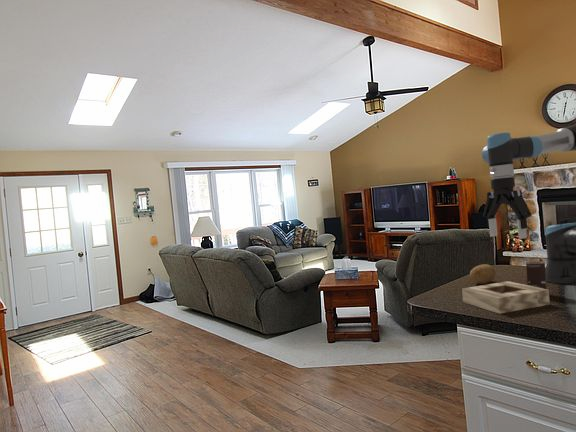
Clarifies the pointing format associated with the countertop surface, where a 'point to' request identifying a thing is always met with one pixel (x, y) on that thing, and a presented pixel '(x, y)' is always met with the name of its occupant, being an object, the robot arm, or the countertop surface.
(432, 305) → the countertop surface
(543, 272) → the box
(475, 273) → the potato
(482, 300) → the square frame
